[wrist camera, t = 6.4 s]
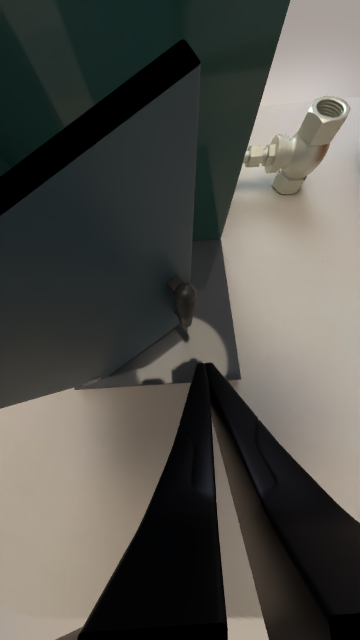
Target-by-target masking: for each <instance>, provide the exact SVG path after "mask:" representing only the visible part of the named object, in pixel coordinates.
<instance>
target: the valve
mask: <svg viewBox="0 0 360 640" xmlns="http://www.w3.org/2000/svg"><path fill="white" fill-rule="evenodd" d="M349 111H350V107H349V105H348V104H347V103H346V102H345V101H344V100H343V99H341V98H338V97H334V96H324V97H320V98H317V99H315V100H314V102H313V104H312V105H311V107H310V109H309V111H308V113H307V115H306V117H305V119H304V121H303V123H302V125H301V127H300V129H299V131H298V132H297V133H296V134H295V135H294V136H293V137H292V139H288V136H287V135H276V136H275V137H274V138H273V140H272V142H271V144H270V145H267V146H266V148H264V149H263V145H259V146H249V148H248V150H247V151H246V154H245V157H244V160H243V163H245V167H259V164H260V163H262V166H265V171H266V173H276V172H277V171H278V170H279V171H278V173H277V175H276V177H275V179H274V181H273V183H272V185H273V187H274V188H275V189H276V191H278V192H279V193H281V194H294V193H296V192H297V191H298V189H299V188H300V187H301V185H302V184H303V182H304V181H305V179H306V177H307V175H308V174H310V173H311V172H312V171H313V170H314V169H315V168H316V167H317V166H318V165H319V164H320V162H321V161H322V160H323V158H324V156H325V155H326V153H327V151H328V148H329V145H330V142H331V141H332V139H333V138H334V136H335V135H336V133H337V132H338V130H339V129H340V127H341V126H342V124H343V123H344V121H345V119H346V118H347V116H348V114H349Z"/></svg>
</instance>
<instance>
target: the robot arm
mask: <svg viewBox="0 0 360 640" xmlns="http://www.w3.org/2000/svg"><path fill="white" fill-rule="evenodd" d="M211 416H212V419H211ZM212 420H213V424H214V427H215V431H216V435H217V439H218V443H219V447H220V451H221V455H222V459H223V462H224V466H225V470H226V474H227V478H228V482H229V486H230V490H231V494H232V497H233V501H234V505H235V509H236V513H237V517H238V521H239V523H240V529H241V533H242V536H243V540H244V544H245V548H246V552H247V556H248V560H249V564H250V568H251V571H252V575H253V579H254V583H255V587H256V591H257V595H258V599H259V602H260V606H261V610H262V614H263V618H264V622H265V626H266V629H267V634H268V637H269V640H360V523H359V522H358V521H356V520H355V519H354V518H353V517H352V516H350V515H349V514H348V513H347V512H346V511H345V510H344V509H342V508H341V507H340V506H339V505H338V504H337V503H336V502H335V501H334V500H333V499H332V498H331V497H330V496H329V495H328V494H327V493H326V492H325V491H324V490H323V489H322V488H321V487H320V485H319V484H318V483H317V482H316V481H315V480H314V479H313V478H312V477H311V476H310V475H309V474H308V473H307V472H306V471H305V470H304V469H303V468H302V467H301V466H300V465H299V464H298V463H297V462H296V461H295V460H294V459H293V458H292V456H291V455H290V454H289V453H288V452H287V451H286V450H285V449H284V448H283V447H282V446H281V445H280V444H279V443H278V441H277V440H276V439H275V438H274V437H273V436H272V434H271V433H270V432H269V431H268V430H267V429H266V427H265V426H264V425H263V424H262V422H261V421H260V420H258V418H257V416H256V415H255V414H254V413H253V412H252V410H251V409H250V408H249V407H248V405H247V404H246V403H245V402H244V401H243V399H242V398H241V397H240V396H239V395H238V393H237V392H236V391H235V390H234V388H233V387H232V386H231V385H230V384H229V382H228V381H227V380H226V379H225V377H224V376H223V375H222V374H221V373H220V371H219V370H218V369H217V368H216V366H215V365H214V364H213V363H212V362H209V363H205V364H204V363H197V365H196V368H195V372H194V375H193V379H192V382H191V386H190V389H189V393H188V396H187V400H186V403H185V407H184V410H183V414H182V417H181V420H180V425H179V427H178V430H177V434H176V437H175V440H174V443H173V446H172V449H171V452H170V454H169V457H168V460H167V462H166V465H165V467H164V470H163V472H162V475H161V477H160V479H159V482H158V484H157V487H156V489H155V492H154V494H153V496H152V499H151V501H150V504H149V506H148V508H147V510H146V513H145V515H144V517H143V519H142V521H141V523H140V526H139V528H138V530H137V532H136V534H135V535H134V537H133V539H132V541H131V543H130V544H129V546H128V548H127V550H126V551H125V553H124V555H123V557H122V559H121V560H120V562H119V564H118V566H117V567H116V569H115V571H114V573H113V575H112V576H111V578H110V580H109V582H108V583H107V585H106V587H105V589H104V591H103V592H102V594H101V596H100V598H99V599H98V601H97V603H96V605H95V607H94V608H93V610H92V612H91V614H90V615H89V617H88V619H87V621H86V623H85V625H84V626H83V627H81V628H79V629H77V630H75V631H73V632H71V633H69V634H67V635H65V636H62V637H60V638H58V639H56V640H228V633H227V632H228V628H227V617H226V607H225V596H224V585H223V575H222V564H221V553H220V542H219V531H218V518H217V503H216V486H215V469H214V453H213V436H212Z"/></svg>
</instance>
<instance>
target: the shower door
mask: <svg viewBox="0 0 360 640" xmlns="http://www.w3.org/2000/svg"><path fill="white" fill-rule="evenodd" d="M200 66H201V62H200V59H199V58H198V56H197V55H196V54H195V52H194V51H193V50H192V48H191V47H190V45H189V44H188V43H187V41H186V40H184V39H182V40H180V41H178V42H177V43H176V44H174V45H173V46H172V47H170V48H169V49H168V50H166V51H165V52H164V53H163V54H161V55H160V56H159V57H157V58H156V59H155V60H153V61H152V62H151V63H149V64H148V65H147V66H145V67H144V68H143V69H141V70H140V71H139V72H137V73H136V74H135V75H134V76H132V77H131V78H130V79H128V80H127V81H126V82H124V83H123V84H122V85H120V86H119V87H118V88H116V89H115V90H114V91H112V92H111V93H110V94H108V95H107V96H106V97H105V98H103V99H102V100H101V101H99V102H98V103H97V104H95V105H94V106H93V107H91V108H90V109H89V110H87V111H86V112H85V113H83V114H82V115H81V116H79V117H78V118H77V119H75V120H74V121H73V122H72V123H70V124H69V125H68V126H66V127H65V128H64V129H62V130H61V131H60V132H58V133H57V134H56V135H54V136H53V137H52V138H50V139H49V140H48V141H46V142H45V143H44V144H43V145H41V146H40V147H39V148H37V149H36V150H35V151H33V152H32V153H31V154H29V155H28V156H27V157H25V158H24V159H23V160H21V161H20V162H19V163H17V164H16V165H15V166H14V167H12V168H11V169H10V170H8V171H7V172H6V173H4V174H3V175H2V176H0V408H4V407H7V406H11V405H14V404H18V403H21V402H25V401H28V400H32V399H35V398H39V397H42V396H46V395H49V394H53V393H56V392H60V391H63V390H67V389H70V388H74V387H77V386H81V385H83V386H85V385H89V384H92V383H95V382H97V381H98V380H102V379H105V378H106V377H108V376H109V375H111V374H112V373H113V372H115V371H116V370H117V369H119V368H120V367H122V366H123V365H124V364H126V363H127V362H128V361H130V360H131V359H132V358H134V357H135V356H137V355H138V354H139V353H141V352H142V351H143V350H145V349H146V348H148V347H149V346H150V345H152V344H153V343H154V342H156V341H157V340H159V339H160V338H161V337H163V336H164V335H165V334H167V333H168V332H170V331H171V330H172V329H174V328H175V327H176V326H178V325H179V324H180V325H181V326H182V327H189V326H190V325H191V324H192V319H193V313H194V307H195V301H196V290H195V288H194V286H193V285H191V284H190V274H191V253H192V232H193V211H194V191H195V170H196V149H197V128H198V108H199V87H200Z"/></svg>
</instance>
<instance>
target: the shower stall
mask: <svg viewBox="0 0 360 640" xmlns="http://www.w3.org/2000/svg"><path fill="white" fill-rule="evenodd" d="M289 3H290V0H0V176H2V175H3V174H4V173H6V172H7V171H8V170H10V169H11V168H12V167H14V166H15V165H16V164H17V163H19V162H20V161H21V160H23V159H24V158H25V157H27V156H28V155H29V154H31V153H32V152H33V151H35V150H36V149H37V148H39V147H40V146H41V145H43V144H44V143H45V142H46V141H48V140H49V139H50V138H52V137H53V136H54V135H56V134H57V133H58V132H60V131H61V130H62V129H64V128H65V127H66V126H68V125H69V124H70V123H72V122H73V121H74V120H75V119H77V118H78V117H79V116H81V115H82V114H83V113H85V112H86V111H87V110H89V109H90V108H91V107H93V106H94V105H95V104H97V103H98V102H99V101H101V100H102V99H103V98H105V97H106V96H107V95H108V94H110V93H111V92H112V91H114V90H115V89H116V88H118V87H119V86H120V85H122V84H123V83H124V82H126V81H127V80H128V79H130V78H131V77H132V76H134V75H135V74H136V73H137V72H139V71H140V70H141V69H143V68H144V67H145V66H147V65H148V64H149V63H151V62H152V61H153V60H155V59H156V58H157V57H159V56H160V55H161V54H163V53H164V52H165V51H166V50H168V49H169V48H170V47H172V46H173V45H174V44H176V43H177V42H178V41H180V40H182V39H184V40H186V41H187V43H188V44H189V45H190V47H191V48H192V50H193V51H194V52H195V54H196V55H197V56H198V58H199V59H200V62H201V66H200V87H199V108H198V128H197V149H196V170H195V191H194V211H193V232H192V253H191V274H190V284H191V285H193V286H194V288H195V290H196V301H195V307H194V313H193V319H192V324H191V325H190V326H189V327H182V326H181V325H180V324H179V325H178V326H176V327H175V328H174V329H172V330H171V331H170V332H168V333H167V334H165V335H164V336H163V337H161V338H160V339H159V340H157V341H156V342H154V343H153V344H152V345H150V346H149V347H148V348H146V349H145V350H143V351H142V352H141V353H139V354H138V355H137V356H135V357H134V358H132V359H131V360H130V361H128V362H127V363H126V364H124V365H123V366H122V367H120V368H119V369H117V370H116V371H115V372H113V373H112V374H111V375H109V376H108V377H106V378H105V379H102V380H98V381H97V382H95V383H92V384H89V385H85V386H83V385H81V386H77V387H75V388H74V389H75V390H79V389H95V388H111V387H127V386H143V385H159V384H175V383H191V382H192V379H193V375H194V372H195V368H196V365H197V363H204V364H205V363H209V362H212V363H213V364H214V365H215V366H216V368H217V369H218V370H219V371H220V373H221V374H222V375H223V376H224V377H225V379H226V380H239V379H241V376H240V369H239V362H238V355H237V349H236V342H235V335H234V328H233V321H232V314H231V307H230V300H229V294H228V287H227V280H226V273H225V266H224V259H223V252H222V245H221V236H222V232H223V229H224V225H225V222H226V219H227V215H228V212H229V208H230V205H231V201H232V198H233V195H234V191H235V188H236V184H237V181H238V177H239V174H240V171H241V167H242V164H243V160H244V157H245V154H246V150H247V147H248V143H249V140H250V136H251V133H252V130H253V126H254V123H255V119H256V116H257V112H258V109H259V106H260V102H261V99H262V95H263V92H264V88H265V85H266V82H267V78H268V75H269V71H270V67H271V64H272V61H273V58H274V54H275V50H276V47H277V44H278V41H279V37H280V34H281V30H282V26H283V23H284V20H285V16H286V13H287V10H288V6H289Z"/></svg>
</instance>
